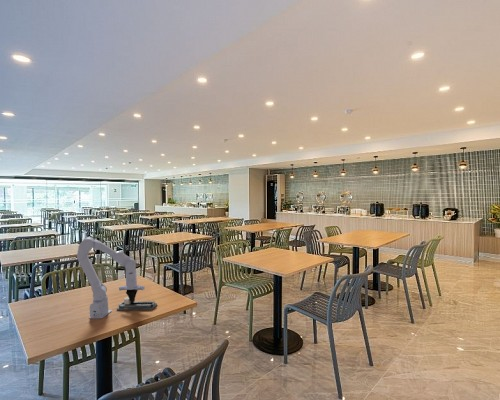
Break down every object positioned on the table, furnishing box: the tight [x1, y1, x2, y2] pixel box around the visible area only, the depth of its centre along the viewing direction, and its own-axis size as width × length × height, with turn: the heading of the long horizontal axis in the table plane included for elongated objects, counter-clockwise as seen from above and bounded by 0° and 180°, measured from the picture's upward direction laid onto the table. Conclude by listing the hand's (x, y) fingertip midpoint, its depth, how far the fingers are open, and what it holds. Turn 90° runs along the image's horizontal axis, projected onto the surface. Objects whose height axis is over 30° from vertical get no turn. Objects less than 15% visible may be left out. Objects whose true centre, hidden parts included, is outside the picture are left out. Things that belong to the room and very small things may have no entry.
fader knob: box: [123, 296, 131, 305], centre depth 165 cm, size 4×3×5 cm
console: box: [116, 300, 158, 312], centre depth 165 cm, size 8×21×3 cm, turn 85°
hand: (132, 302), depth 165 cm, fingers closed
